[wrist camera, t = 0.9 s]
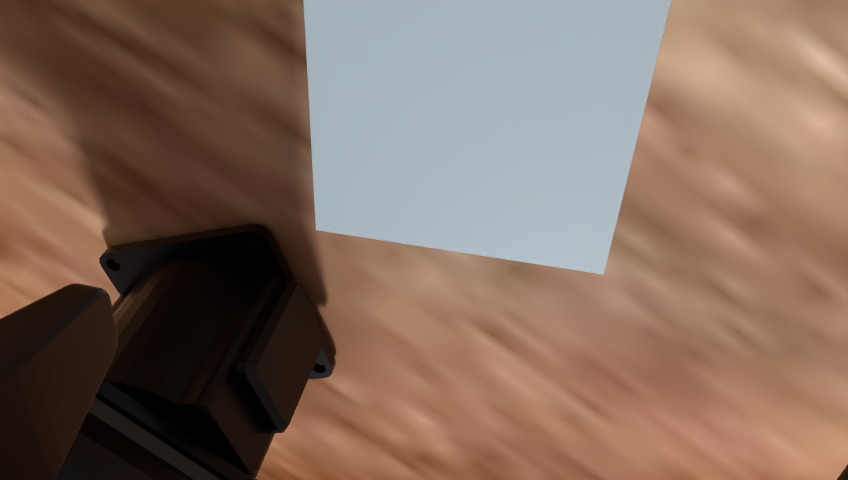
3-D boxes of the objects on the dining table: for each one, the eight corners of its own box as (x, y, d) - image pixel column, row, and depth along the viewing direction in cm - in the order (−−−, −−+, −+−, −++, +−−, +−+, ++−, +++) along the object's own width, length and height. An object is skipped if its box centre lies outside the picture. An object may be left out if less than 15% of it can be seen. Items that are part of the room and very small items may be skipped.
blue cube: (382, 102, 21) (315, 230, 16) (385, -139, 17) (299, -67, 12) (604, 131, 20) (603, 274, 15) (657, -115, 16) (678, -27, 11)
